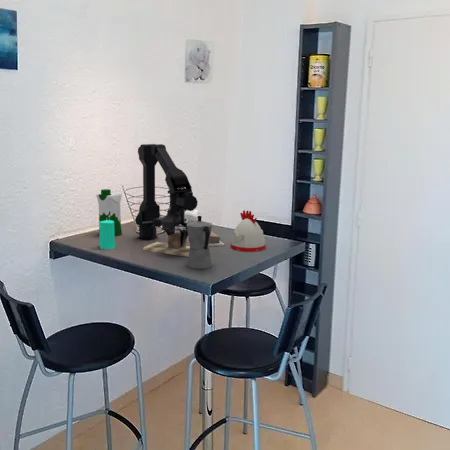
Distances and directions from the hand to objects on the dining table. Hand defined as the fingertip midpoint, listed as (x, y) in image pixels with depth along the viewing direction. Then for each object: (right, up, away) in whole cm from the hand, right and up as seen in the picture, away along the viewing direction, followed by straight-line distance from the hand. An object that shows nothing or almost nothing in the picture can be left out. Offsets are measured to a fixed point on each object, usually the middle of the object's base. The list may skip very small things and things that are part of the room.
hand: (177, 245), depth 216 cm
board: (-2, -2, +1) cm, 3 cm away
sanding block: (0, -1, 0) cm, 1 cm away
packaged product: (+11, +1, +16) cm, 20 cm away
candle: (-28, -1, +5) cm, 28 cm away
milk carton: (-31, +4, +26) cm, 41 cm away
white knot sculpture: (+2, +6, +39) cm, 39 cm away
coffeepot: (+10, -7, -19) cm, 23 cm away
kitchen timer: (+28, -1, +8) cm, 29 cm away
